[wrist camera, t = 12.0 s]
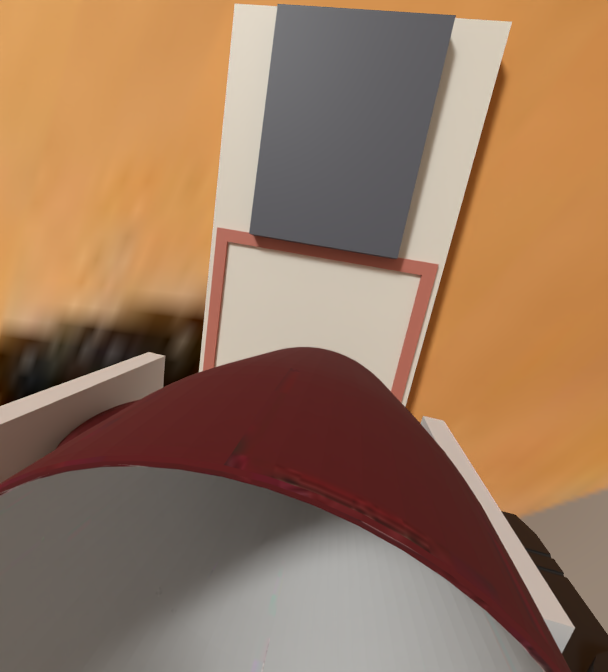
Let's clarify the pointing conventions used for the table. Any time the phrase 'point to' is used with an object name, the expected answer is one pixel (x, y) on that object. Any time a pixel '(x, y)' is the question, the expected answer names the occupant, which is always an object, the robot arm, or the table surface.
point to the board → (342, 179)
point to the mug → (259, 537)
